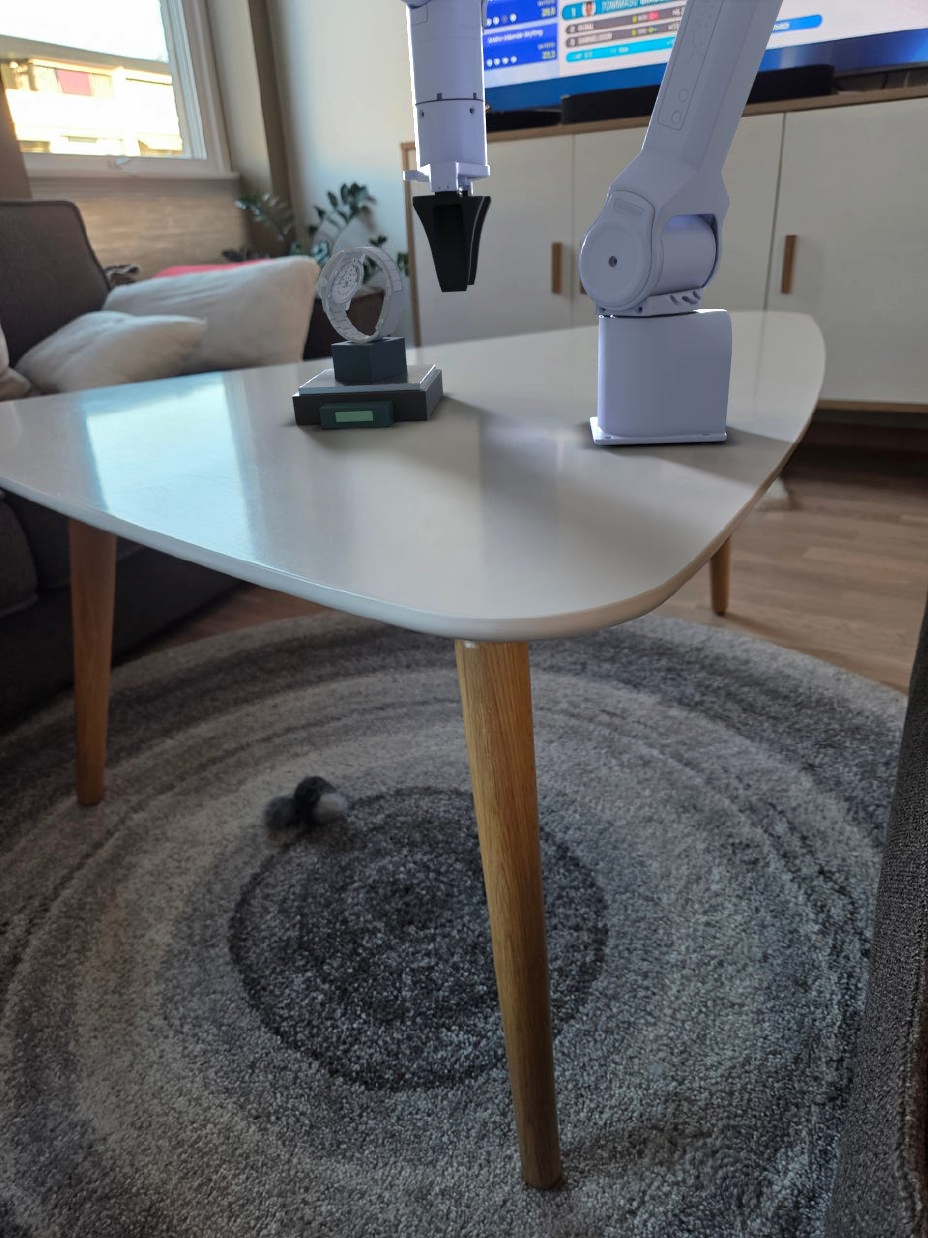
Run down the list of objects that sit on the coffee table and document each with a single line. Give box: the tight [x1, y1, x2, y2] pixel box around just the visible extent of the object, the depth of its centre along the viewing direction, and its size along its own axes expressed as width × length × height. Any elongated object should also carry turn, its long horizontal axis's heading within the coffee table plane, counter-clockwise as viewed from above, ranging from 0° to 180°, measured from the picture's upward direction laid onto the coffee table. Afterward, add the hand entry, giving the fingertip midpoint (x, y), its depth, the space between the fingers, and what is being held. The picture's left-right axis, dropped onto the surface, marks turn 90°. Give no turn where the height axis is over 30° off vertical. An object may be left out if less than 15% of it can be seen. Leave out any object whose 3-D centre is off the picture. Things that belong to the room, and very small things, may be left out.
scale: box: [291, 368, 444, 430], centre depth 77 cm, size 12×14×2 cm
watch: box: [317, 245, 408, 382], centre depth 74 cm, size 6×8×11 cm
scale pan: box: [297, 363, 437, 395], centre depth 77 cm, size 11×11×1 cm
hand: (458, 288), depth 71 cm, fingers open, 7 cm apart
